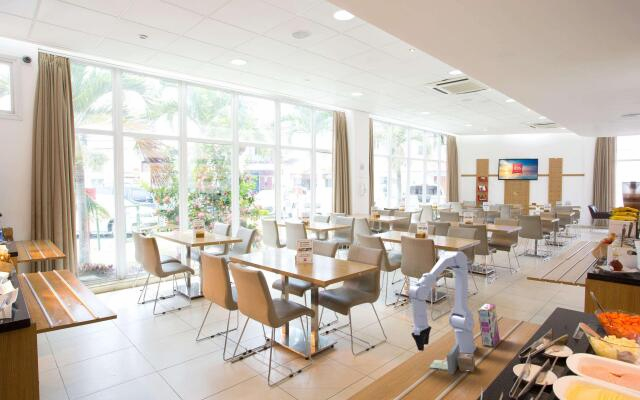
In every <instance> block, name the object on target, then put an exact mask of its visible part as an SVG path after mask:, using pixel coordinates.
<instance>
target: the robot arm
mask: <svg viewBox="0 0 640 400" xmlns="http://www.w3.org/2000/svg"><path fill="white" fill-rule="evenodd" d="M447 268H450V269H451V270H452V271H453V272H454V307H453V308H452V309H451V310H450V315H449V319H448V321H449V322H448V323H449V325H450V326H451V327H452V330H454V332H453V333H454V338H455V344H459V349H460V354H461V353H463V354H474V353H475V351H476V349H477V347H478V345H477V344H475V339H474V338H475V336H474V332H473V331H474V330H473V329H474V327H475V319H474V314H473V312H472V311H471V310H470V309H469V305H468V304H469V295H468V294H469V266H468V255H466V254H465V253H464V252H463V251H450V250H445V251H442V253H441V254H440V255H439V260H438V261H437V262H436V263H435V265H434V266H433V267H432V269H431V270H430V271H429V272H425V273H423V274H422V276H421V278H420V279H419V280H418V281H417V282H416V283H415V284H414V285H411V286H410V287H409V289H408V292H407V296H408V297H409V299H410V302H411V307H412V316H413V323H411V327H413V330H414V332H413V331H412V333H411V336H412V338H413V340H414V342H415V344H416V347H417V351H421V352H423V351H424V350H425V346H426V345H429V342H430V333H431V330H432V326H430V325H429V321H428V320H429V319H428V311H427V310H428V309H427V303H426V300H427V298H428V295H429V292H430V290H431V289H432V288H433V287H434V285H435V284H436V283H437V277H439V276H440V275H441V274H442V273H443V272H444V271H445V269H447Z"/></svg>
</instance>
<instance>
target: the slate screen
mask: <svg viewBox="0 0 640 400" xmlns="http://www.w3.org/2000/svg"><path fill="white" fill-rule="evenodd" d="M460 354H461V353H460V349H459V344H456V343H454V345H453V346H452V347H451V348H450V350H449V351H448V353H447V354H446V361H447V364H448V370H447V371H448V374H449V375H450V376H451V375H452V376H453V375H454V373H455V371H456V370H457V369H458V368H459V363H458V357H459V355H460Z"/></svg>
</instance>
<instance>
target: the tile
mask: <svg viewBox="0 0 640 400" xmlns="http://www.w3.org/2000/svg"><path fill="white" fill-rule="evenodd" d="M442 361H443V359H442V360H441V359H440V360H439V359H434V360H433V361H432V363H431V364H430V366H429V369H432V370H433V368H438V369H437V370H440V369H441V370H440V371H448V364H447V360H445V361H446V362H444V363H443V364H441V365H439V364H440V363H441V362H442ZM438 365H439V366H438ZM437 366H438V367H437Z"/></svg>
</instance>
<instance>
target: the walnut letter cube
mask: <svg viewBox="0 0 640 400" xmlns="http://www.w3.org/2000/svg"><path fill="white" fill-rule="evenodd" d="M458 363H459V365H458V368H459V371H462V372H467V371H466V370H469V371H470V372H469V373H474V371H475V369H476V363H475V354H474V353H473V354H470V353H460V355H459V357H458Z"/></svg>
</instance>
